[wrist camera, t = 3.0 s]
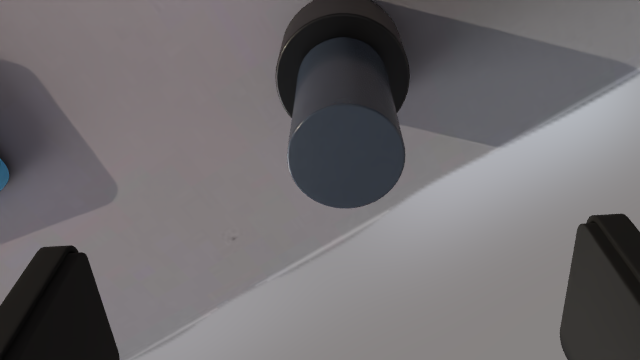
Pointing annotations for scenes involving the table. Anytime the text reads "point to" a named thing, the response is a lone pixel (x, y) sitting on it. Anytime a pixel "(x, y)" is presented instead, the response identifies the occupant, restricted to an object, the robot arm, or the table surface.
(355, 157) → the torch
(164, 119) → the table surface
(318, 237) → the table surface
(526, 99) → the table surface
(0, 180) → the smartphone
